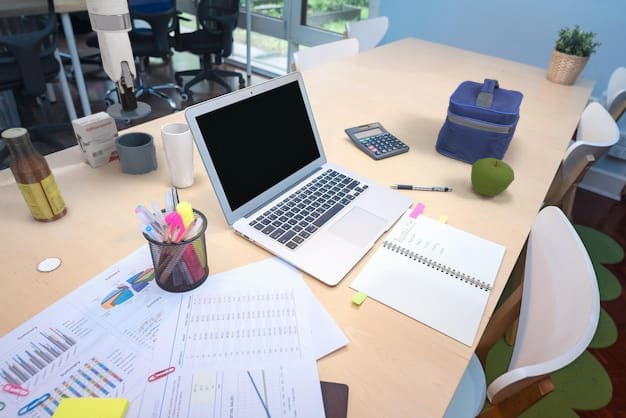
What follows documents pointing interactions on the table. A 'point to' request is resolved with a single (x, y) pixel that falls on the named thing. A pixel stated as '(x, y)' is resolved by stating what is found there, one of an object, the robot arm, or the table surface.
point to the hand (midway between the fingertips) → (128, 105)
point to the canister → (136, 153)
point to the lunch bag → (479, 121)
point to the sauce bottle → (34, 177)
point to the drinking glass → (179, 153)
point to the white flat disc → (49, 264)
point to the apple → (491, 176)
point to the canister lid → (120, 113)
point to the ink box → (96, 138)
